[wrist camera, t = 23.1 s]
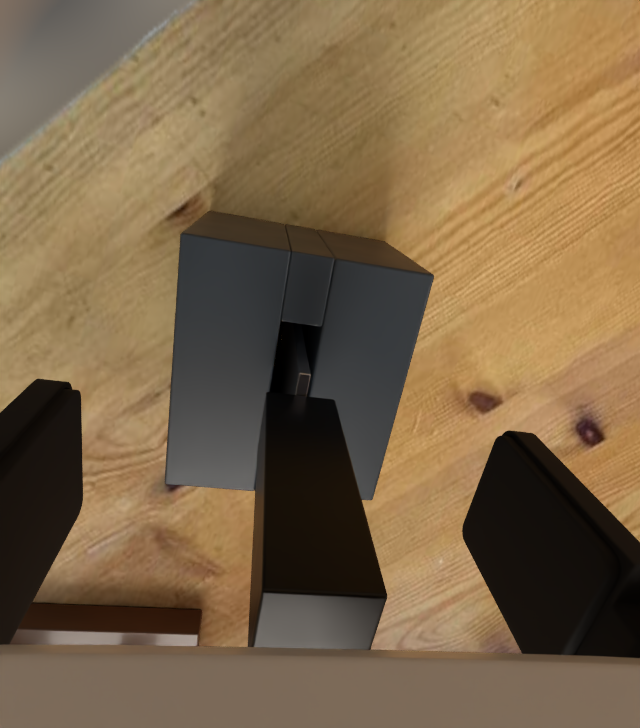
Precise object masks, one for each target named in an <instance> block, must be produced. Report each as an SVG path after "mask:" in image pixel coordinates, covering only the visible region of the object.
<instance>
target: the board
mask: <svg viewBox="0 0 640 728" xmlns="http://www.w3.org/2000/svg"><path fill="white" fill-rule="evenodd" d="M201 621H202V610H192V609H167V608H142V607H117V606H91V605H66V604H41V603H31V605H30V607H29V609H28V611H27V612H26V614H25V616H24V618H23V620H22V622H21V624H20V626H19V627H18V629H17V631H16V633H15V635H14V637H13V639H12V640H11V642H10V644H9V645H157V646H199V638H200V629H201Z"/></svg>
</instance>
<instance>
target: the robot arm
mask: <svg viewBox="0 0 640 728" xmlns="http://www.w3.org/2000/svg"><path fill="white" fill-rule="evenodd" d="M82 501H83V477H82V425H81V394H80V392H79V391H78V390H72V387H71V384H70V383H69V382H62V381H53V380H44V379H36V380H35V381H34V382H33V383H31V384H30V385H29V386H28V387H27V388H26V389H25V390H24V391H23V392H22V393H21V394H20V395H19V396H18V397H17V398H16V399H14V400H13V401H12V402H11V403H10V404H9V405H8V406H7V407H6V408H5V409H4V410H3V411H2V412H1V413H0V728H640V542H639V541H638V540H637V539H636V538H635V537H634V536H633V535H632V534H631V533H630V532H629V531H628V530H627V529H626V528H625V527H624V526H623V525H622V524H621V523H620V522H619V521H618V520H617V519H616V517H615V516H614V515H613V514H612V513H611V512H610V511H609V510H608V509H607V508H606V507H605V506H604V505H603V504H602V503H601V502H600V501H599V500H598V499H597V498H596V497H595V496H594V495H593V494H592V493H591V492H590V491H589V490H588V489H587V488H586V487H585V486H584V485H583V484H582V483H581V482H580V481H579V479H578V478H577V477H576V476H575V475H574V474H573V473H572V472H571V471H570V470H569V469H568V468H567V467H566V466H565V465H564V464H563V463H562V462H561V461H560V460H559V459H558V458H557V457H556V456H555V455H554V454H553V453H552V452H551V451H550V450H549V449H548V448H547V447H546V446H545V445H544V444H543V443H542V441H541V440H540V439H539V438H538V437H537V436H536V435H534V434H533V433H526V432H517V431H506V432H505V433H504V434H503V435H502V436H499V437H497V439H496V440H495V442H494V445H493V447H492V450H491V453H490V455H489V458H488V461H487V463H486V466H485V468H484V471H483V474H482V476H481V479H480V482H479V484H478V487H477V490H476V492H475V495H474V497H473V500H472V503H471V505H470V508H469V511H468V513H467V516H466V518H465V521H464V524H463V530H462V532H463V539H464V541H465V543H466V545H467V547H468V549H469V551H470V553H471V555H472V557H473V559H474V561H475V563H476V565H477V567H478V569H479V570H480V572H481V574H482V576H483V578H484V580H485V582H486V584H487V586H488V588H489V590H490V592H491V594H492V596H493V598H494V600H495V601H496V603H497V605H498V607H499V609H500V611H501V613H502V615H503V617H504V619H505V621H506V623H507V625H508V627H509V629H510V631H511V633H512V634H513V636H514V638H515V640H516V642H517V644H518V646H519V648H520V650H521V652H522V654H512V653H479V652H442V651H402V650H360V649H316V648H270V647H214V646H157V645H9V644H10V642H11V640H12V639H13V637H14V635H15V633H16V631H17V629H18V627H19V626H20V624H21V622H22V620H23V618H24V616H25V614H26V612H27V611H28V609H29V607H30V605H31V603H32V601H33V599H34V597H35V596H36V594H37V592H38V590H39V588H40V586H41V584H42V583H43V581H44V579H45V577H46V575H47V573H48V571H49V569H50V568H51V566H52V564H53V562H54V560H55V558H56V556H57V555H58V553H59V551H60V549H61V547H62V545H63V543H64V541H65V540H66V538H67V536H68V534H69V532H70V530H71V528H72V527H73V525H74V523H75V521H76V519H77V517H78V515H79V513H80V510H81V506H82Z"/></svg>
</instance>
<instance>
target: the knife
mask: <svg viewBox="0 0 640 728" xmlns="http://www.w3.org/2000/svg"><path fill="white" fill-rule="evenodd" d="M278 369H279V393H274V392H267V393H266V397H265V403H264V410H263V416H262V423H261V430H260V436H259V443H258V449H257V469H256V489H255V510H254V530H253V550H252V571H251V591H250V612H249V632H248V647H270V648H316V649H360V650H370V649H371V645H372V642H373V639H374V636H375V633H376V630H377V627H378V624H379V621H380V618H381V615H382V611H383V608H384V605H385V602H386V599H387V593H386V589H385V586H384V582H383V578H382V574H381V571H380V567H379V563H378V559H377V556H376V552H375V548H374V545H373V541H372V537H371V533H370V530H369V526H368V522H367V518H366V515H365V511H364V507H363V503H362V500H361V496H360V492H359V488H358V485H357V481H356V477H355V473H354V470H353V466H352V462H351V458H350V455H349V451H348V447H347V443H346V440H345V436H344V432H343V428H342V425H341V421H340V417H339V413H338V410H337V406H336V402H335V400H333V399H325V398H317V397H308V396H307V392H308V387H309V381H310V376H311V374H310V369H309V363H308V358H307V353H306V347H305V342H304V336H303V331H302V325H301V324H299V323H292V322H285V321H284V324H283V331H282V337H281V343H280V350H279V356H278Z"/></svg>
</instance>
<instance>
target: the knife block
mask: <svg viewBox="0 0 640 728" xmlns="http://www.w3.org/2000/svg"><path fill="white" fill-rule="evenodd" d="M433 279H434V275H433V274H431V273H430V272H429V271H427V270H426V269H424V268H423V267H421V266H420V265H418V264H417V263H415V262H414V261H413V260H411V259H410V258H408V257H407V256H405V255H404V254H402V253H401V252H399V251H398V250H397V249H395V248H394V247H392V246H391V245H389V244H388V243H386V242H384V241H379V240H373V239H367V238H362V237H356V236H350V235H345V234H339V233H333V232H327V231H322V230H315V229H311V228H305V227H299V226H294V225H288V224H286V225H285V224H282V223H276V222H271V221H265V220H259V219H254V218H248V217H242V216H237V215H231V214H225V213H219V212H214V211H208V212H207V213H206V214H205V215H203V216H202V217H201V218H200V219H198V220H197V221H196V222H195V223H193V224H192V225H191V226H190V227H188V228H187V229H186V230H185V231H183V232H182V233H181V235H180V250H179V266H178V282H177V297H176V313H175V329H174V345H173V360H172V376H171V392H170V407H169V423H168V439H167V454H166V470H165V483H166V484H173V485H186V486H198V487H210V488H223V489H235V490H247V491H254V489H256V469H257V449H258V443H259V436H260V430H261V423H262V416H263V410H264V403H265V397H266V393H267V392H274V393H279V369H278V367H274V361H275V354H276V348H277V341H278V335H279V329H280V322H281V320H282V321H285V322H292V323H299V324H301V325H302V331H303V336H304V342H305V347H306V353H307V358H308V363H309V369H310V374H311V376H310V381H309V387H308V392H307V396H308V397H317V398H325V399H333V400H335V402H336V406H337V410H338V413H339V417H340V421H341V425H342V428H343V432H344V436H345V440H346V443H347V447H348V451H349V455H350V458H351V462H352V466H353V470H354V473H355V477H356V481H357V485H358V488H359V492H360V496H361V500H372V499H373V496H374V492H375V489H376V485H377V481H378V478H379V474H380V471H381V467H382V463H383V460H384V456H385V452H386V449H387V445H388V442H389V438H390V434H391V431H392V427H393V423H394V420H395V416H396V413H397V409H398V405H399V402H400V398H401V395H402V391H403V387H404V384H405V380H406V376H407V373H408V369H409V366H410V362H411V358H412V355H413V351H414V347H415V344H416V340H417V337H418V333H419V329H420V326H421V322H422V318H423V315H424V311H425V308H426V304H427V300H428V297H429V293H430V290H431V286H432V282H433Z"/></svg>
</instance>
